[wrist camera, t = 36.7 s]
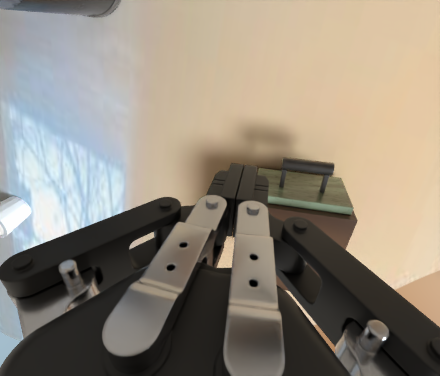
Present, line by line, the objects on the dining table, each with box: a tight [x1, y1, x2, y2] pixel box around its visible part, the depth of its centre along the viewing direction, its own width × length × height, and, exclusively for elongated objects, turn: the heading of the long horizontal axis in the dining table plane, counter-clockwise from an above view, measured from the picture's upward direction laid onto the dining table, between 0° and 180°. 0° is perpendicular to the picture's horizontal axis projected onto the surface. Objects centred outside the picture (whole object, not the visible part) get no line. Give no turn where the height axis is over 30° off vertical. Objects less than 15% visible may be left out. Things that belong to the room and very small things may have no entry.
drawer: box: [258, 157, 353, 215], centre depth 39 cm, size 19×13×8 cm, turn 178°
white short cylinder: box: [0, 196, 31, 238], centre depth 56 cm, size 7×7×7 cm
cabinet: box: [257, 172, 357, 291], centre depth 41 cm, size 16×14×10 cm
